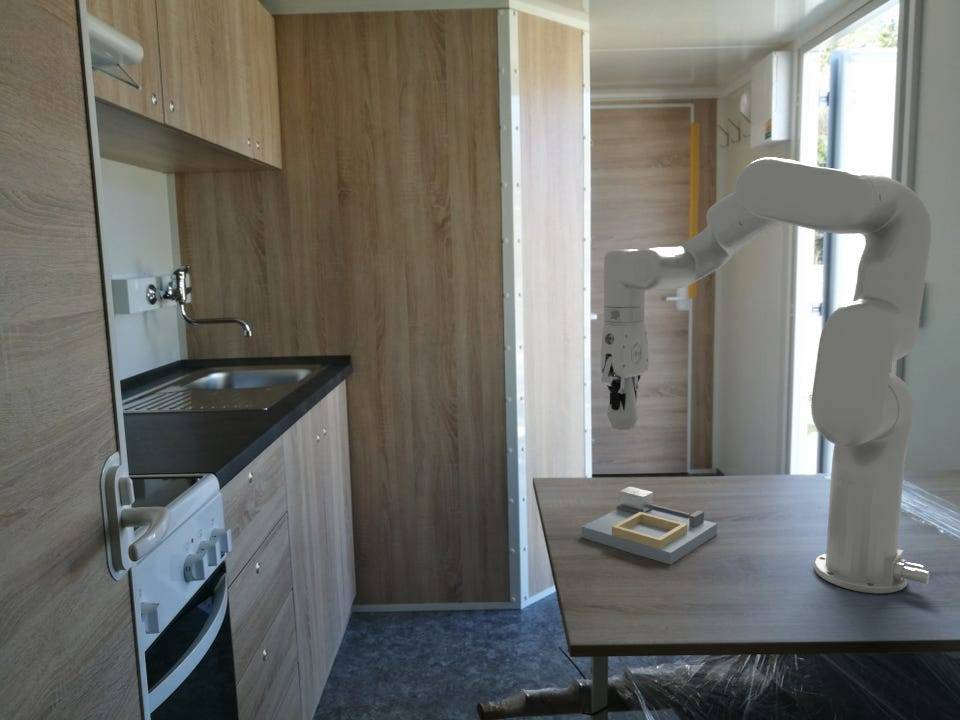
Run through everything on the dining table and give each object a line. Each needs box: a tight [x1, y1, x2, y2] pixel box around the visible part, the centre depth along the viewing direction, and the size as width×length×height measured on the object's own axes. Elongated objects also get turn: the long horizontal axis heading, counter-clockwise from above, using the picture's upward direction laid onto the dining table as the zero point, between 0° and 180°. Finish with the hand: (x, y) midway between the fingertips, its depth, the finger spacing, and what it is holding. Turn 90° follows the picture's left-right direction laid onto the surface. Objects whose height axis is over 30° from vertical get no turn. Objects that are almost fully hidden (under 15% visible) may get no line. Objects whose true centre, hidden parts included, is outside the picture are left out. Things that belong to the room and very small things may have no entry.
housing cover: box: [618, 486, 654, 512], centre depth 137 cm, size 5×3×3 cm
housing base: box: [581, 503, 718, 565], centre depth 130 cm, size 17×16×4 cm
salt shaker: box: [607, 374, 639, 430], centre depth 142 cm, size 6×6×13 cm
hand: (623, 410), depth 142 cm, fingers closed on salt shaker, 3 cm apart
